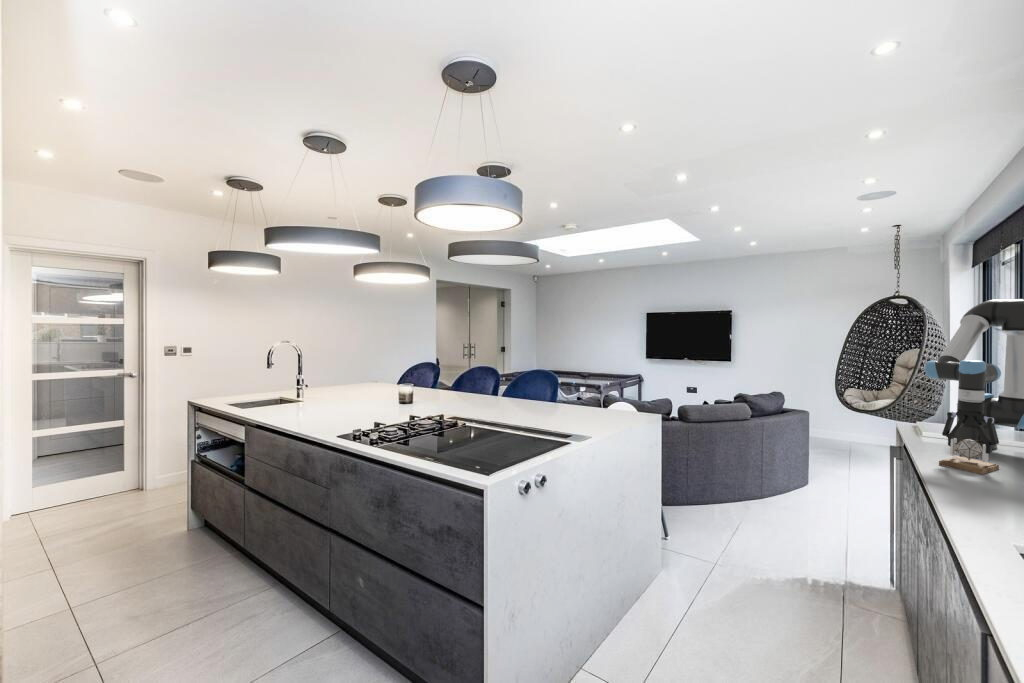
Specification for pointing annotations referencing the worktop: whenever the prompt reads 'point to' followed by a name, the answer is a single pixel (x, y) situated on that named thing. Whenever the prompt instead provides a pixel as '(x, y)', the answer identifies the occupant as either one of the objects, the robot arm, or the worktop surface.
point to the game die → (969, 448)
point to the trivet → (969, 465)
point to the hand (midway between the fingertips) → (968, 458)
